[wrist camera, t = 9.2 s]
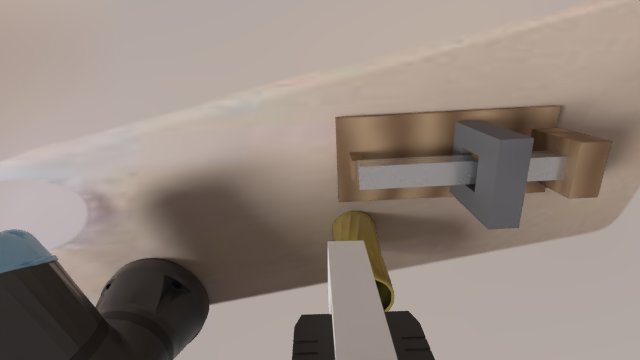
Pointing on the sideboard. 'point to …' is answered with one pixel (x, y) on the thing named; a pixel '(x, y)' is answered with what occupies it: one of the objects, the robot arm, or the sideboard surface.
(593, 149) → the wooden stand
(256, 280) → the sideboard surface
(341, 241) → the robot arm
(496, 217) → the collar
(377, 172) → the light grey bar
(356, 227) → the vase
